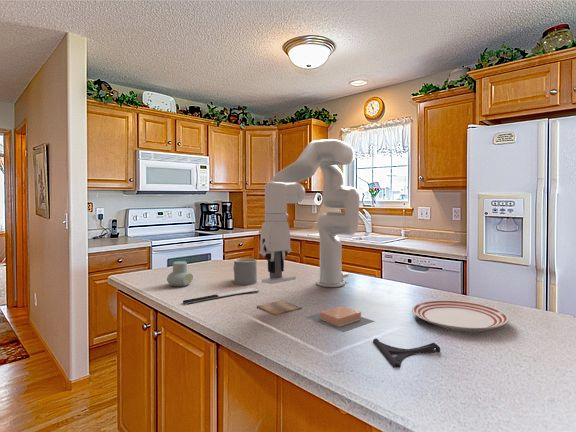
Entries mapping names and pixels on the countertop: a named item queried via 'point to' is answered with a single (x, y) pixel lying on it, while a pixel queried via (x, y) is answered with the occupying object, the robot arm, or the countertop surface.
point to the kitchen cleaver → (218, 296)
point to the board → (279, 307)
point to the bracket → (403, 351)
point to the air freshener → (180, 274)
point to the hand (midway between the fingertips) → (275, 271)
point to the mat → (344, 327)
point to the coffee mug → (245, 271)
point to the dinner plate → (460, 315)
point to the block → (340, 315)
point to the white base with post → (277, 272)
